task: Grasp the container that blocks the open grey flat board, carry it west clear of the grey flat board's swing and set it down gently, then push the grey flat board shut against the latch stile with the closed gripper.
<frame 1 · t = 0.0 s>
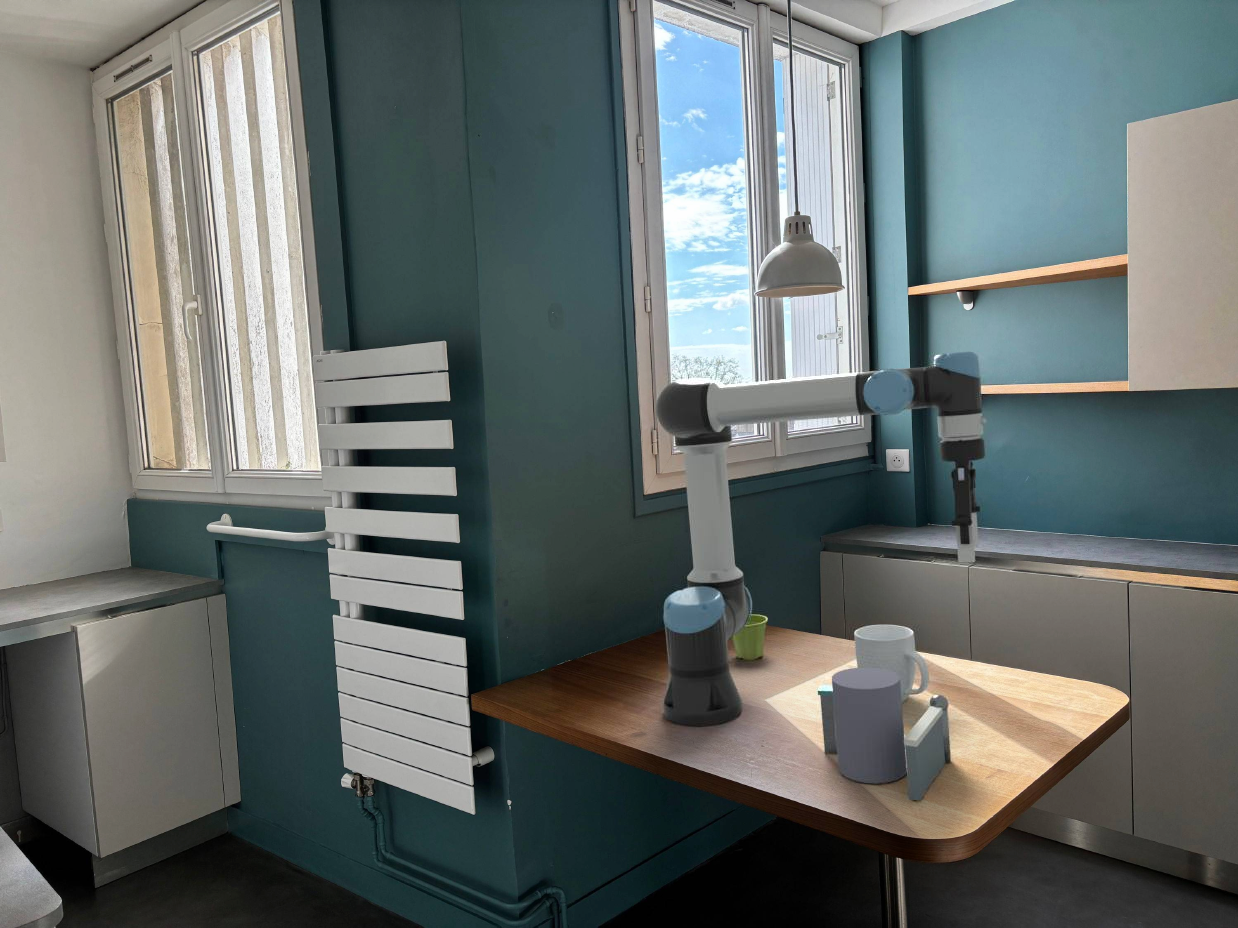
hand: (968, 554, 157), 28 cm above the table, fingers open, 13 cm apart
mug: (893, 700, 166), on the table
latch stile: (831, 750, 145), on the table
grey flat board: (925, 751, 130), point 5 cm above the table, hinge at 80.0°
hinge post: (942, 760, 137), on the table
container: (872, 771, 136), on the table
plant pot: (750, 656, 201), on the table
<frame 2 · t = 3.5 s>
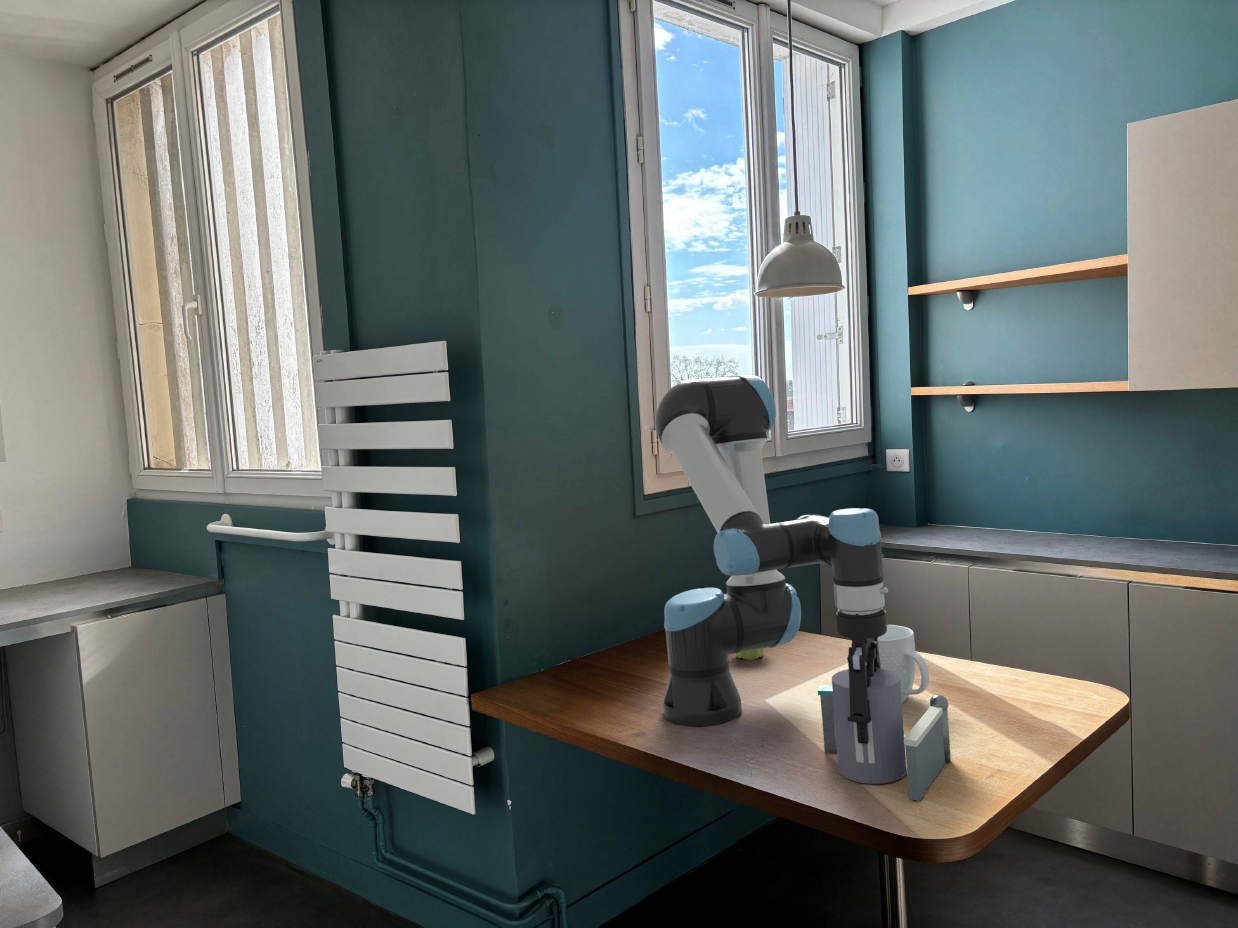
hand: (870, 748, 136), 4 cm above the table, fingers open, 9 cm apart
container: (872, 772, 136), on the table, touching gripper
everything else where it was.
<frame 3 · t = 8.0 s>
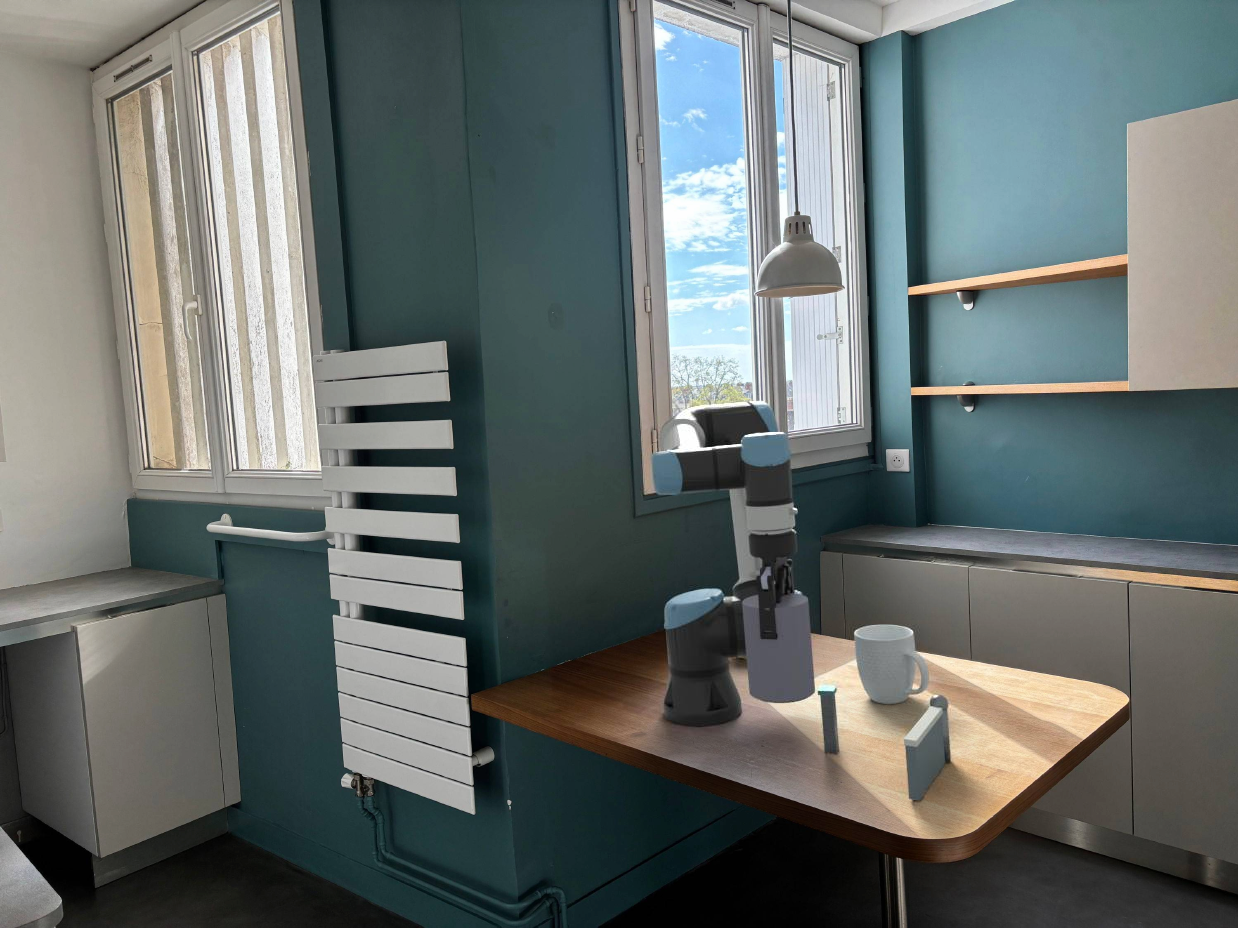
hand: (783, 671, 139), 16 cm above the table, fingers closed on container, 7 cm apart
container: (782, 694, 138), point 13 cm above the table, touching gripper
everything else where it was.
when the fingers open (3 cm above the table, at t = 12.0 s): container stays where it is, on the table.
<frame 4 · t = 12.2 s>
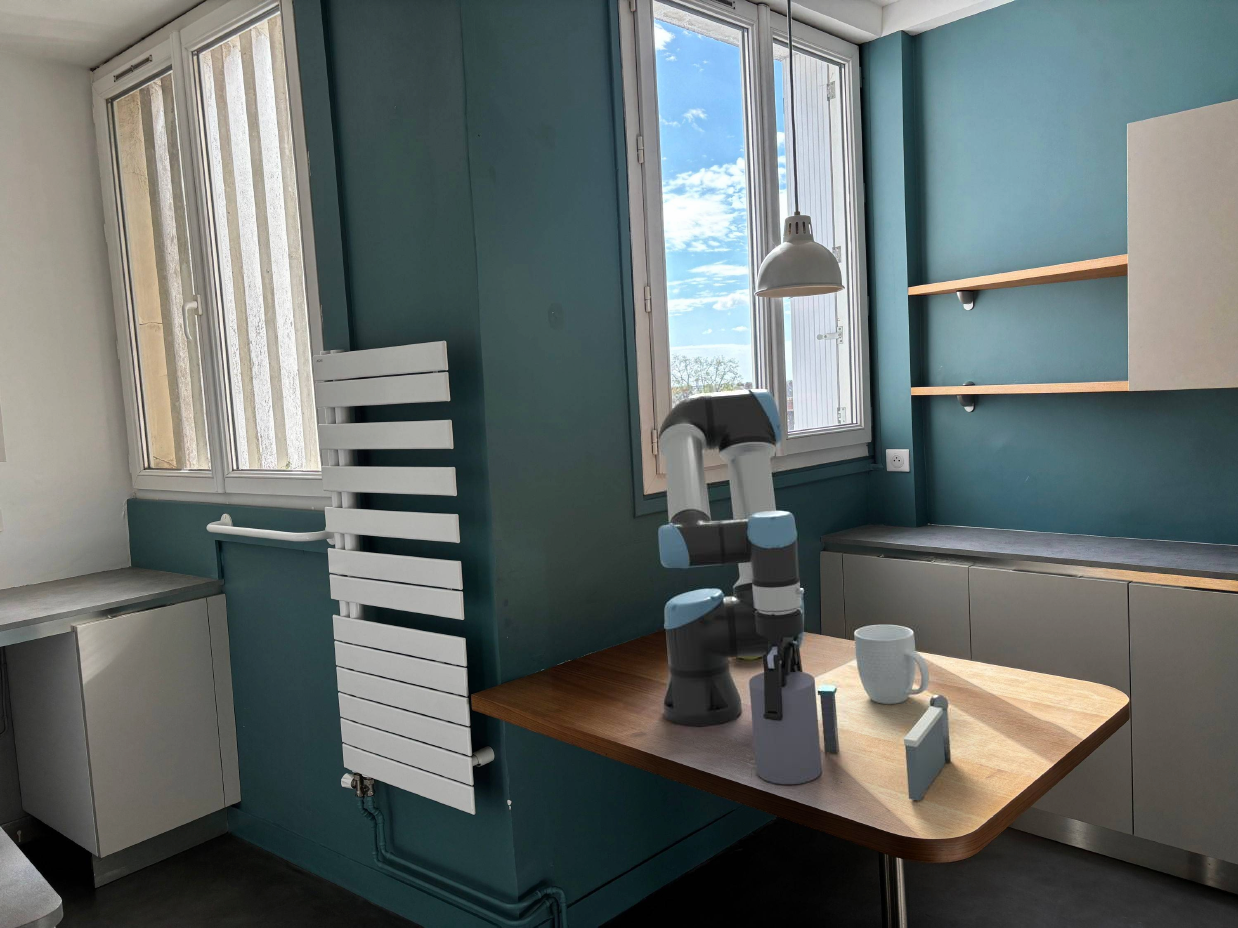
hand: (789, 745, 140), 4 cm above the table, fingers open, 9 cm apart
container: (789, 772, 139), on the table
everything else where it was.
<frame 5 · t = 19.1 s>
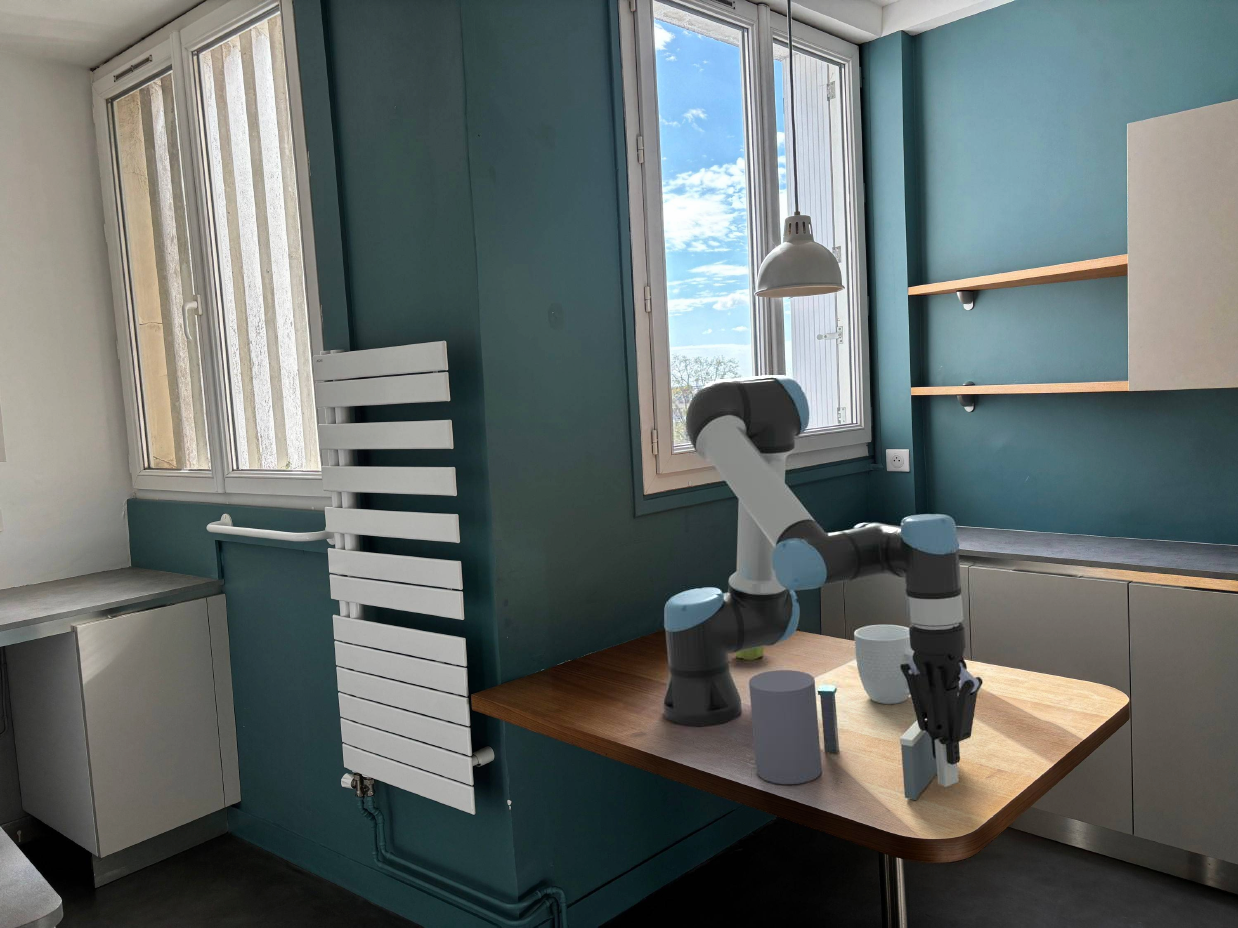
hand: (948, 782, 125), 2 cm above the table, fingers closed
grey flat board: (923, 750, 130), point 5 cm above the table, hinge at 77.7°, touching gripper
everything else where it was.
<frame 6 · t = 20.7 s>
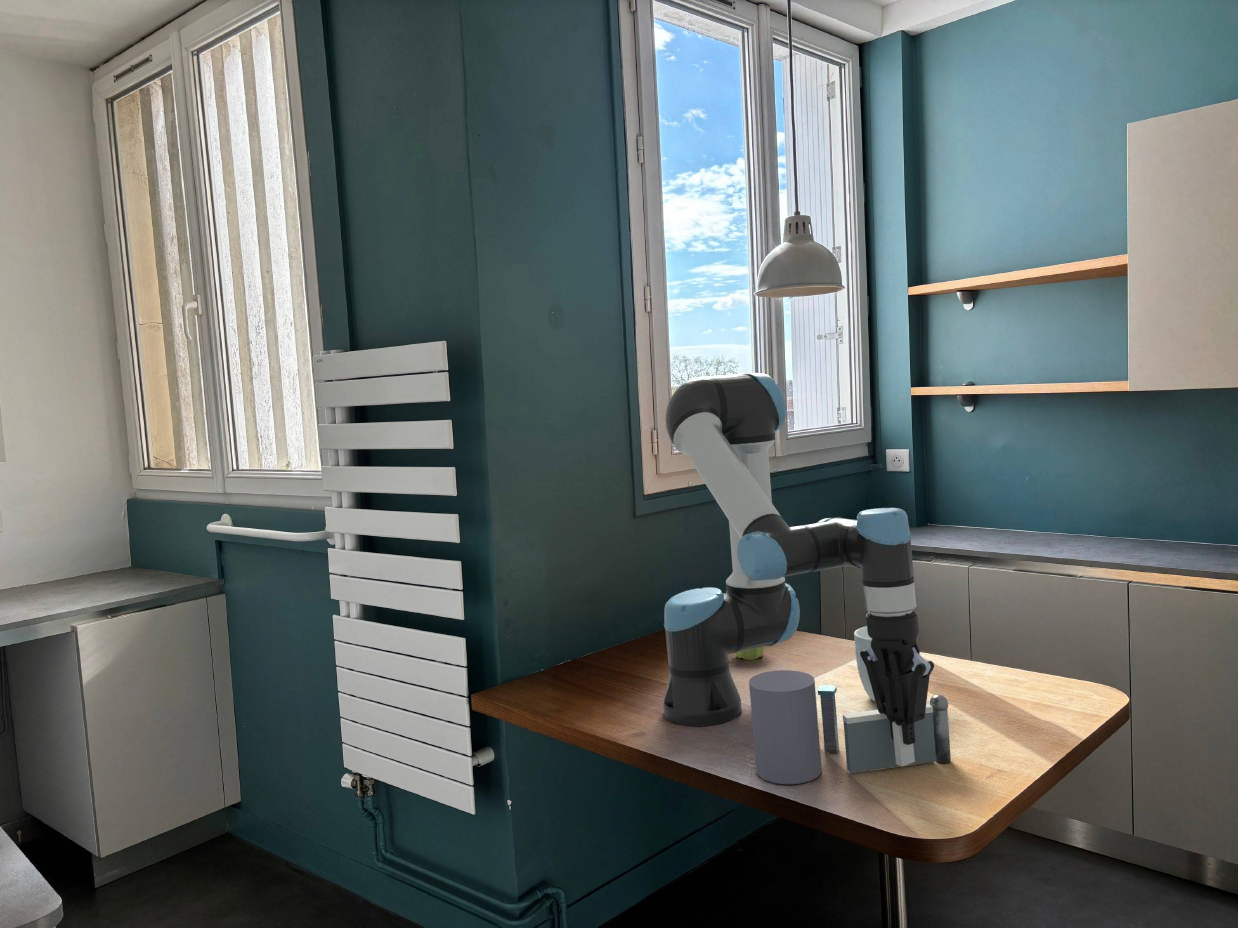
hand: (905, 762, 132), 3 cm above the table, fingers closed
grey flat board: (889, 737, 136), point 5 cm above the table, hinge at 31.0°, touching gripper
everything else where it was.
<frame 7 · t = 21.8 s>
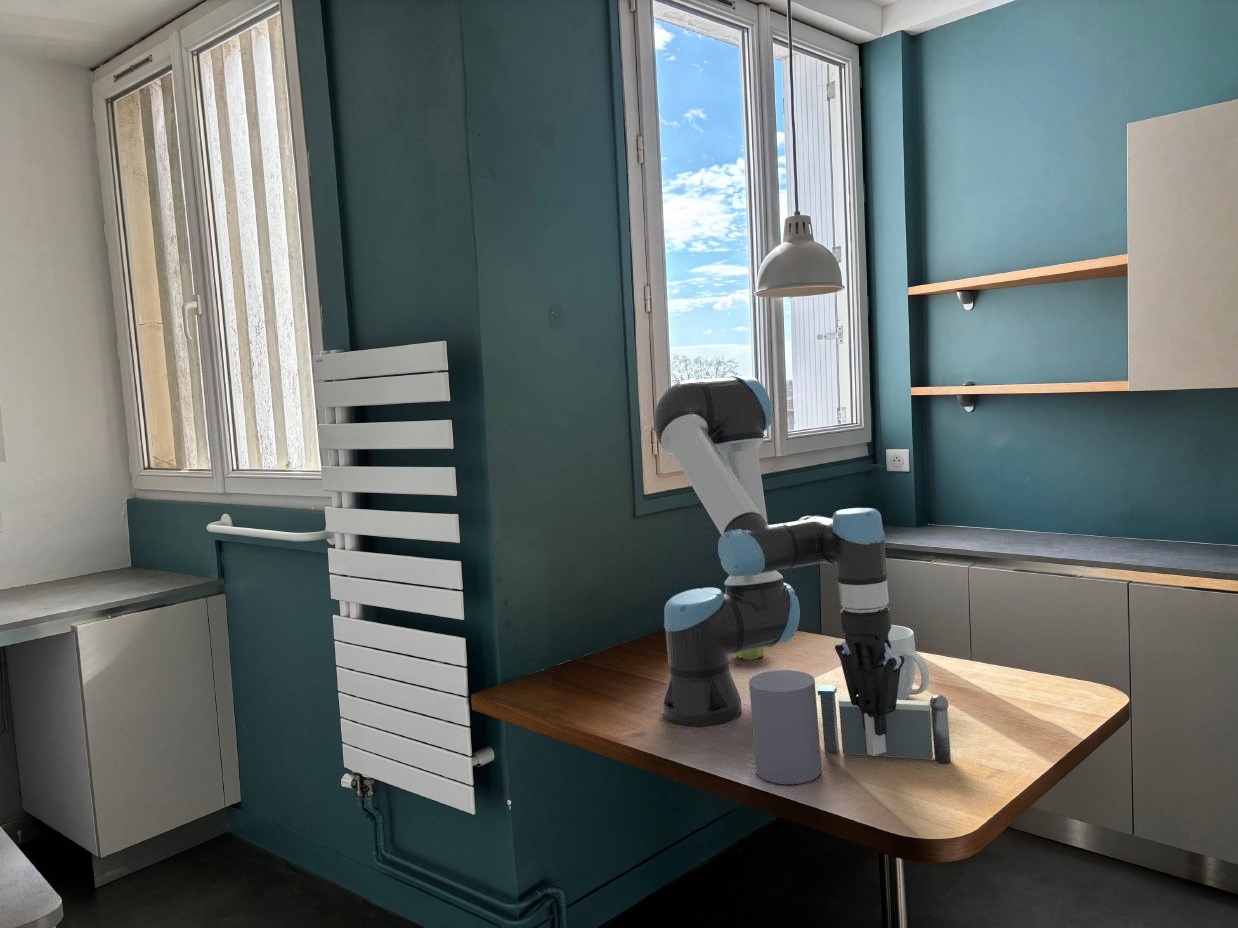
hand: (876, 752, 138), 2 cm above the table, fingers closed
grey flat board: (885, 727, 140), point 5 cm above the table, hinge at 2.3°, touching gripper
everything else where it was.
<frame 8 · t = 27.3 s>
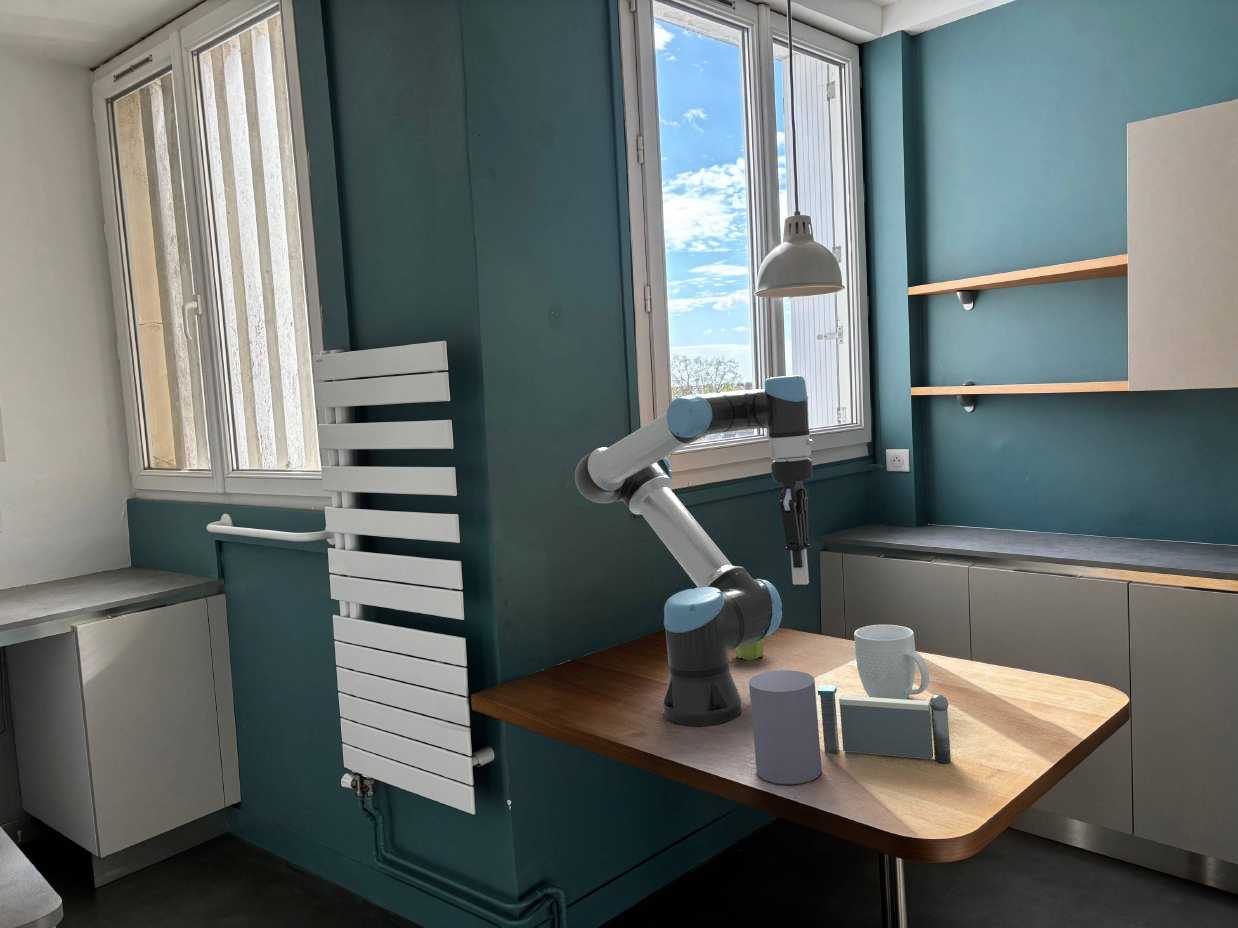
hand: (800, 583, 163), 24 cm above the table, fingers closed
grey flat board: (885, 726, 141), point 5 cm above the table, hinge at -0.8°
everything else where it was.
at the end: grey flat board at -1° (first picture: +80°); container inside the target area (0.8 cm from its centre), on the table; container tilted 0° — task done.
